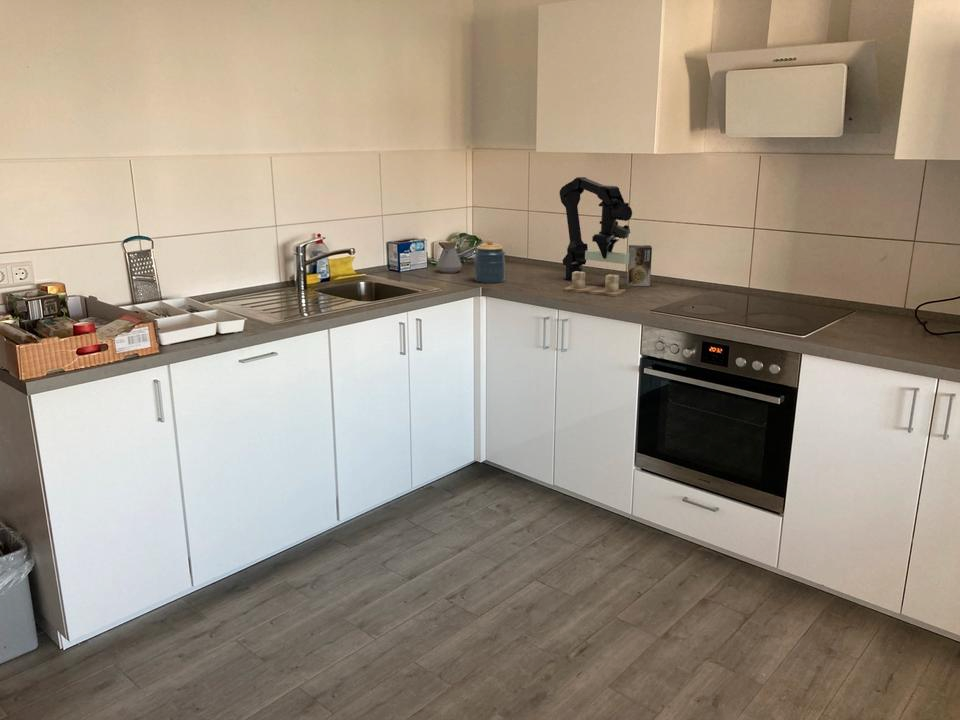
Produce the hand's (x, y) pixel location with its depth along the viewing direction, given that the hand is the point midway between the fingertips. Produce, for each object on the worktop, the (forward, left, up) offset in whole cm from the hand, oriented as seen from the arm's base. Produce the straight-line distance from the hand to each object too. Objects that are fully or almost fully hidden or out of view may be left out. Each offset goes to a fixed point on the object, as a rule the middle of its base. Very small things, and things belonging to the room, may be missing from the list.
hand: (606, 257), depth 309 cm
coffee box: (+10, +12, -12) cm, 19 cm away
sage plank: (0, 0, -1) cm, 1 cm away
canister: (-47, -12, -12) cm, 50 cm away
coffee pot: (-72, -7, -12) cm, 73 cm away
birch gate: (0, -11, -12) cm, 17 cm away
